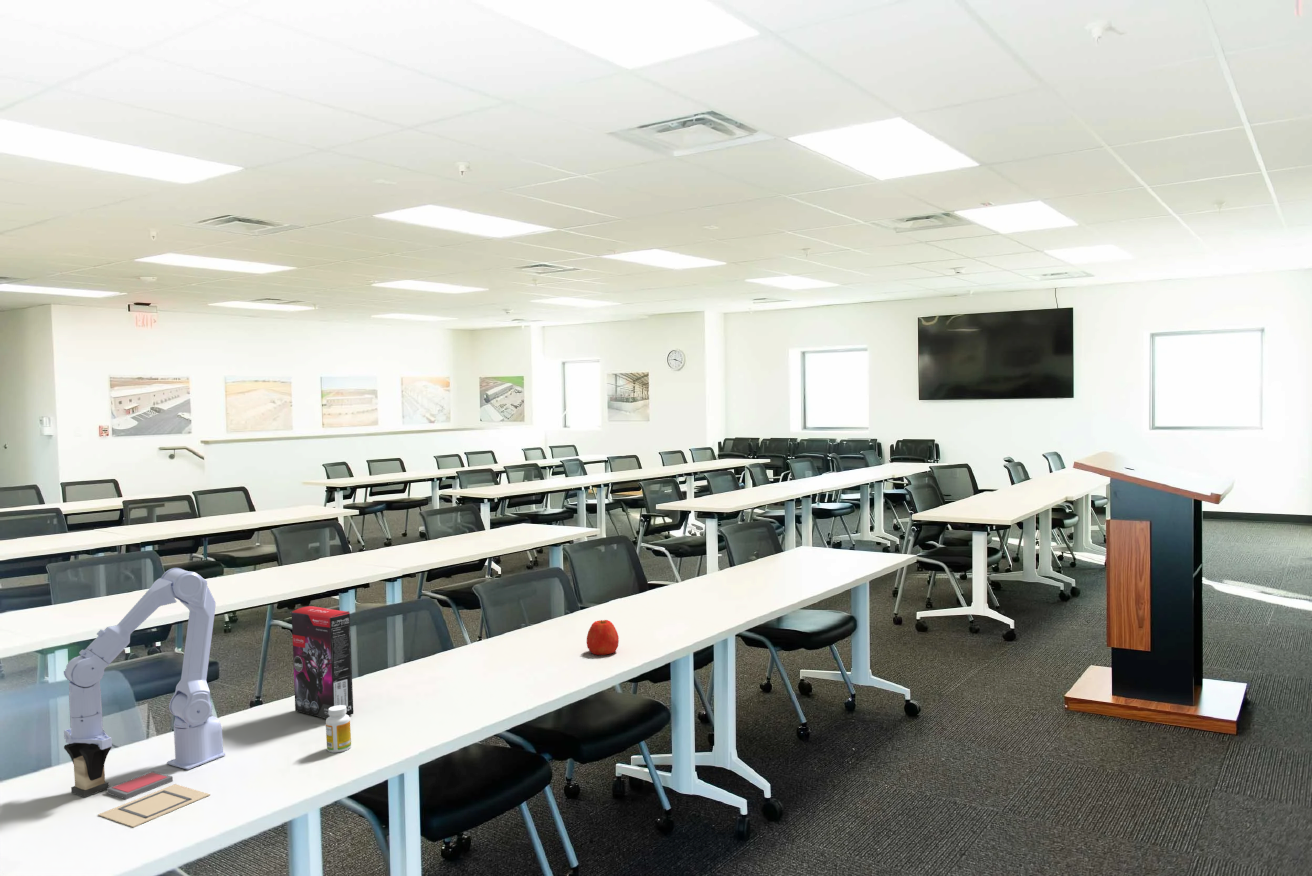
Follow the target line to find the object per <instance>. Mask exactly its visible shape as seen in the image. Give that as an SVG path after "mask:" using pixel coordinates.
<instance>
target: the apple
mask: <svg viewBox="0 0 1312 876" xmlns="http://www.w3.org/2000/svg"><path fill="white" fill-rule="evenodd" d="M619 638H620V637H619V634H618V631H617V629H616V627H615V625H614V624H613V623H612V622H611V621H610V620H608V619H604V620H603V619H600V620H597V621H594V622H593V623H592V624H591V626H590V628H589V629H588V633H587V636H586V646H587V647H586V648H587V649H588V650H589V652H590V653H592V654H593V655H598V656H607V655H611V654H614V653H616V651H617V650H618V647H619V641H620V640H619Z"/></svg>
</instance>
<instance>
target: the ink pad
mask: <svg viewBox="0 0 1312 876" xmlns="http://www.w3.org/2000/svg"><path fill="white" fill-rule="evenodd" d="M173 781H174V780H173V776H172V775H168V774H165V773H161V772H158V771H154V770H152V771H150V772H147V773H144V774H142V775H139V776H137V777H133V778H132V779H128V780H126V781H123V782H120V783H118V784H115V785H112V786H109V788H107V789H106V793H107V794H108V795H113V796H115V797H118V798H121V799H124V800H128V799H130V798H131V799H132V798H133V797H136V796H138V795H141V794H143V793H146V792H149V791H151V790H154V789H156V788H159V787H161V786H163V785H167V784H169V783H171V782H173Z"/></svg>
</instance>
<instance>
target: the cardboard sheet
mask: <svg viewBox="0 0 1312 876" xmlns="http://www.w3.org/2000/svg"><path fill="white" fill-rule="evenodd" d="M209 796H211V793H207V792H204V791H200V790H197V789H193V788H190V787H187V786H183V785H180V784H177V783H175V784H172V785H168V786H167V787H164V788H161V789H159V790H157V791H154V792H150V793H149V794H147V795H144V796H141V797H139V798H137V799H134V800H131V801H129V802H126V803H124V804H121V805H118V806H116V807H113V808H111V809H109V810H106V811H103V812H101V813H99V814H97V815H98V816H99V817H101V818H105V819H108V820H110V821H113V822H116V823H119V824H122V825H124V826H127V827H131V828H136V827H138V826H140V825H141V826H142V825H143V824H145V823H148V822H151V821H152V820H155V819H157V818H159V817H162V816H164V815H167V814H169V813H171V812H173V811H176V810H179V809H181V808H183V807H185V806H187V805H190V804H192V803H195V802H198V801H200V800H202V799H206V798H207V797H209Z"/></svg>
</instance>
